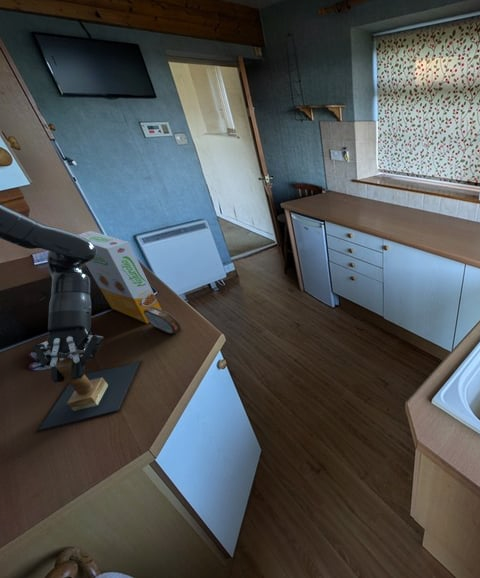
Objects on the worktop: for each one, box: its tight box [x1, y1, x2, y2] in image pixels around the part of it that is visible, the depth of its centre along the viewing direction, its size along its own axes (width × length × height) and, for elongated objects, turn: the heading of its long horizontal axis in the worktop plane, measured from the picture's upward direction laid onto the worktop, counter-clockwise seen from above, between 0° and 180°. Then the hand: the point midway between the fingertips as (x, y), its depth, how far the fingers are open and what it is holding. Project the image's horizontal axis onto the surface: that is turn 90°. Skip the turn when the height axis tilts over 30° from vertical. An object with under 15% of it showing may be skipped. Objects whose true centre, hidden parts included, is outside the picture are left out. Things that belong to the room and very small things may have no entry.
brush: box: [55, 357, 108, 411], centre depth 75 cm, size 5×7×13 cm
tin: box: [144, 306, 182, 335], centre depth 103 cm, size 15×3×8 cm, turn 65°
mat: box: [38, 362, 140, 432], centre depth 81 cm, size 16×18×1 cm
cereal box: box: [77, 230, 162, 324], centre depth 106 cm, size 22×6×30 cm, turn 65°
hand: (68, 380), depth 72 cm, fingers closed on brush, 3 cm apart
